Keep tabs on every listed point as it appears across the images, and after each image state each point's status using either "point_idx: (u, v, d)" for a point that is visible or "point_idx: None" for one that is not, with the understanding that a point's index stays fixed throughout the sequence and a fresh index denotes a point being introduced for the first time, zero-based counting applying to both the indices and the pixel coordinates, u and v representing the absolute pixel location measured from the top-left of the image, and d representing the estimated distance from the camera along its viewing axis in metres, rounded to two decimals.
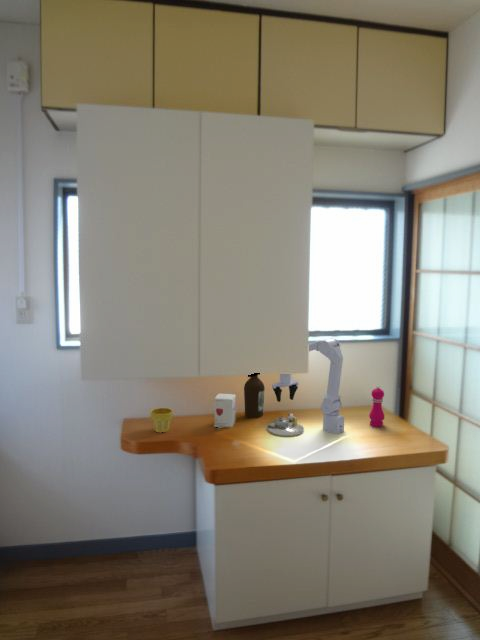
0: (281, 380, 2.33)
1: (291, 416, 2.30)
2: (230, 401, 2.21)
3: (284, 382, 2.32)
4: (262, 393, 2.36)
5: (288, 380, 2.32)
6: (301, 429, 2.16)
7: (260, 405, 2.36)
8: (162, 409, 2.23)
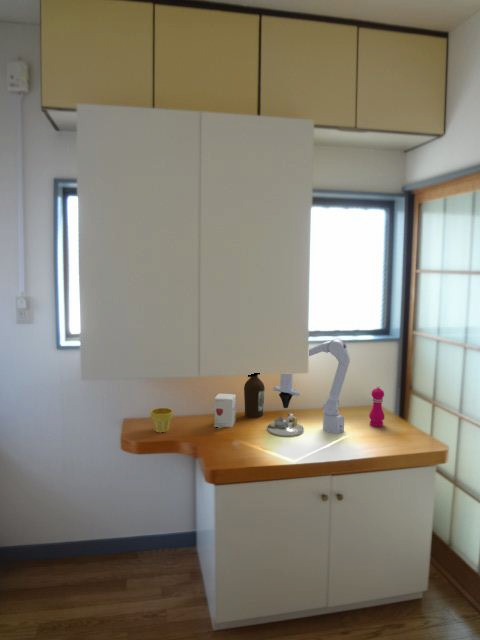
0: None
1: (291, 416, 2.30)
2: (230, 401, 2.21)
3: (280, 387, 2.25)
4: (262, 393, 2.36)
5: (282, 386, 2.23)
6: (301, 429, 2.16)
7: (260, 405, 2.36)
8: (162, 409, 2.23)
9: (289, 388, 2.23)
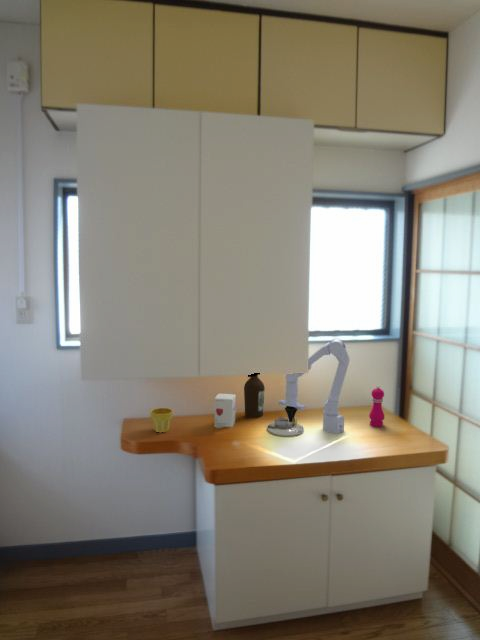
0: None
1: None
2: (230, 401, 2.21)
3: (285, 401, 2.23)
4: (262, 393, 2.36)
5: (288, 400, 2.21)
6: (301, 429, 2.16)
7: (260, 405, 2.36)
8: (162, 409, 2.23)
9: (295, 402, 2.21)
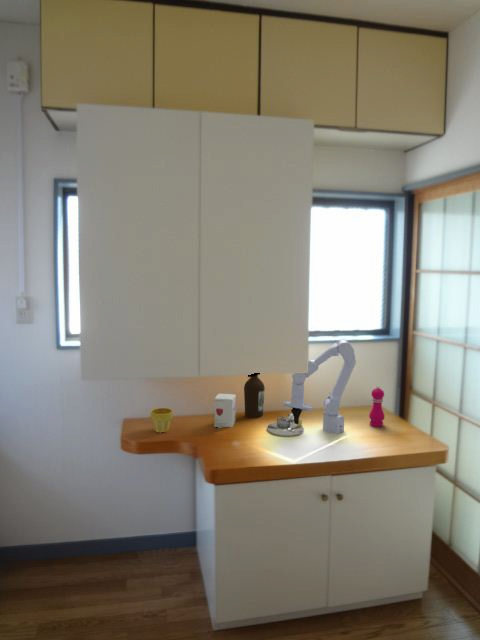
0: None
1: (291, 416, 2.30)
2: (230, 401, 2.21)
3: (291, 403, 2.19)
4: (262, 393, 2.36)
5: (294, 402, 2.18)
6: (297, 432, 2.13)
7: (260, 405, 2.36)
8: (162, 409, 2.23)
9: (301, 403, 2.18)
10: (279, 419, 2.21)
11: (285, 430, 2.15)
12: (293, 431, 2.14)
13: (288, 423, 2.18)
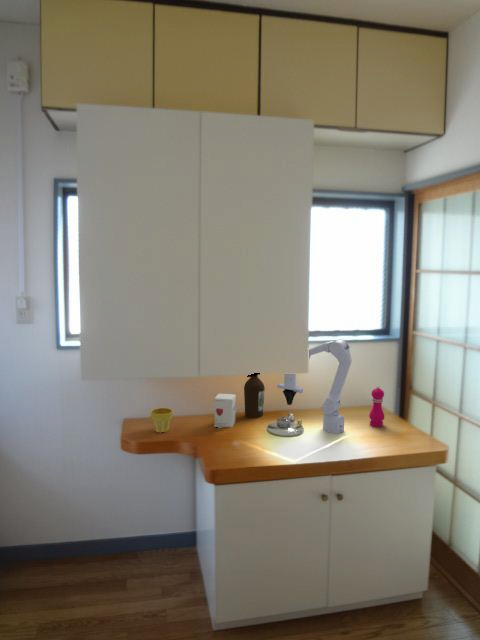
0: None
1: (291, 416, 2.30)
2: (230, 401, 2.21)
3: (284, 384, 2.28)
4: (262, 393, 2.36)
5: (286, 383, 2.26)
6: (297, 432, 2.13)
7: (260, 405, 2.36)
8: (162, 409, 2.23)
9: (293, 385, 2.26)
10: (279, 419, 2.21)
11: (285, 430, 2.15)
12: (293, 431, 2.14)
13: (288, 423, 2.18)
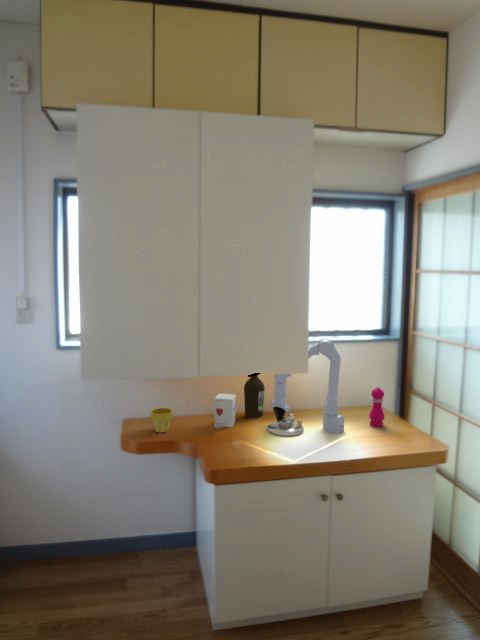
0: (284, 401, 2.20)
1: (291, 416, 2.30)
2: (230, 401, 2.21)
3: (285, 402, 2.21)
4: (262, 393, 2.36)
5: None
6: (297, 432, 2.13)
7: (260, 405, 2.36)
8: (162, 409, 2.23)
9: None
10: (281, 420, 2.19)
11: (285, 430, 2.15)
12: (293, 431, 2.14)
13: (290, 424, 2.17)
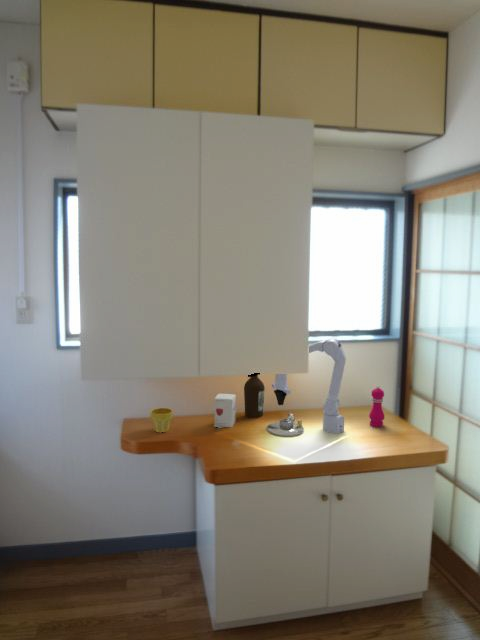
0: (284, 384, 2.24)
1: (291, 416, 2.30)
2: (230, 401, 2.21)
3: (286, 385, 2.25)
4: (262, 393, 2.36)
5: None
6: (297, 432, 2.13)
7: (260, 405, 2.36)
8: (162, 409, 2.23)
9: None
10: (282, 420, 2.19)
11: (285, 430, 2.15)
12: (293, 431, 2.14)
13: (291, 425, 2.16)
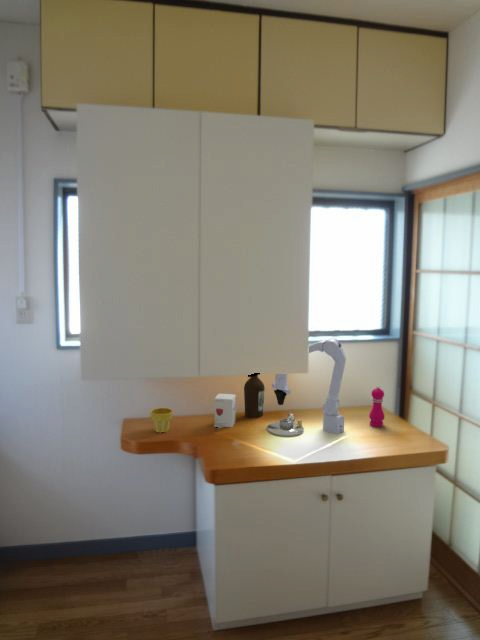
0: (284, 384, 2.24)
1: (291, 416, 2.30)
2: (230, 401, 2.21)
3: (286, 385, 2.25)
4: (262, 393, 2.36)
5: None
6: (297, 432, 2.13)
7: (260, 405, 2.36)
8: (162, 409, 2.23)
9: None
10: (282, 420, 2.19)
11: (285, 430, 2.15)
12: (293, 431, 2.14)
13: (291, 425, 2.16)
